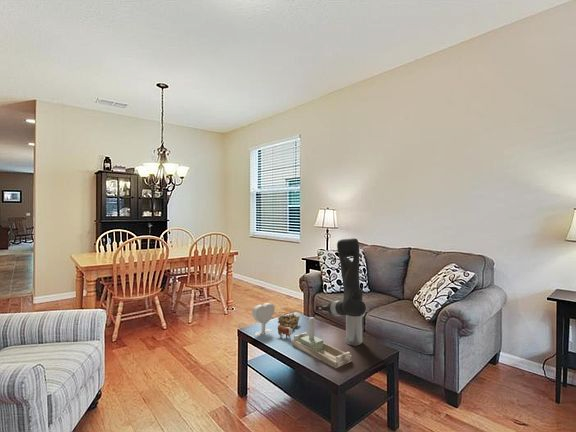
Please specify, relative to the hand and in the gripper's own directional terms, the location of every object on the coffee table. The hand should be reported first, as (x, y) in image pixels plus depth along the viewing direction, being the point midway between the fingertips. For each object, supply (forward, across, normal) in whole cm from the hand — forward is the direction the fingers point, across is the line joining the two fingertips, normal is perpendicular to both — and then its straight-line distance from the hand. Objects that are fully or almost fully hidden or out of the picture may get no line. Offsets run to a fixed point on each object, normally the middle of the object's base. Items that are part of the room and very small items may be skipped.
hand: (324, 309), depth 174 cm
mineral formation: (+52, +2, +10) cm, 53 cm away
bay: (+9, -2, +23) cm, 25 cm away
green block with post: (+15, +1, +21) cm, 25 cm away
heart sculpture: (+47, +22, +14) cm, 53 cm away
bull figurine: (+33, +11, +17) cm, 39 cm away
